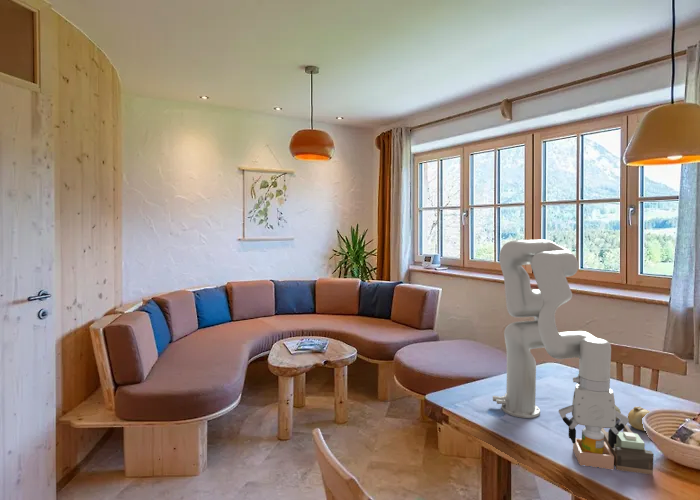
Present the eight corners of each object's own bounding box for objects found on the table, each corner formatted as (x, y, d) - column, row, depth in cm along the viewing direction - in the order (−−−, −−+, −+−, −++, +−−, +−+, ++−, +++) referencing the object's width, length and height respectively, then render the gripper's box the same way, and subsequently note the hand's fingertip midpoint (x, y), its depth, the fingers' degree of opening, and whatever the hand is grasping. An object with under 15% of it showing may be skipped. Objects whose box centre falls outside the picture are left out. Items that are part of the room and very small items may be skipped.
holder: (579, 465, 117) (580, 452, 117) (572, 449, 125) (573, 437, 125) (613, 469, 115) (614, 456, 115) (604, 453, 123) (605, 441, 123)
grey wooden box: (652, 474, 113) (653, 454, 112) (616, 469, 115) (617, 449, 115) (626, 437, 132) (627, 420, 131) (595, 434, 134) (596, 416, 134)
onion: (643, 422, 142) (644, 401, 142) (664, 434, 134) (665, 412, 134) (621, 424, 141) (622, 403, 140) (641, 436, 133) (642, 413, 133)
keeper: (643, 465, 115) (644, 440, 114) (620, 462, 116) (621, 437, 116) (636, 454, 120) (637, 430, 119) (614, 451, 121) (615, 428, 121)
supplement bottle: (576, 453, 122) (577, 419, 122) (592, 450, 123) (593, 417, 123) (591, 463, 117) (592, 428, 116) (608, 460, 118) (609, 426, 118)
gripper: (562, 385, 118) (560, 445, 119) (634, 391, 113) (632, 454, 114) (557, 375, 125) (555, 432, 126) (625, 381, 120) (622, 440, 121)
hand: (591, 443), depth 120 cm, fingers open, 9 cm apart
